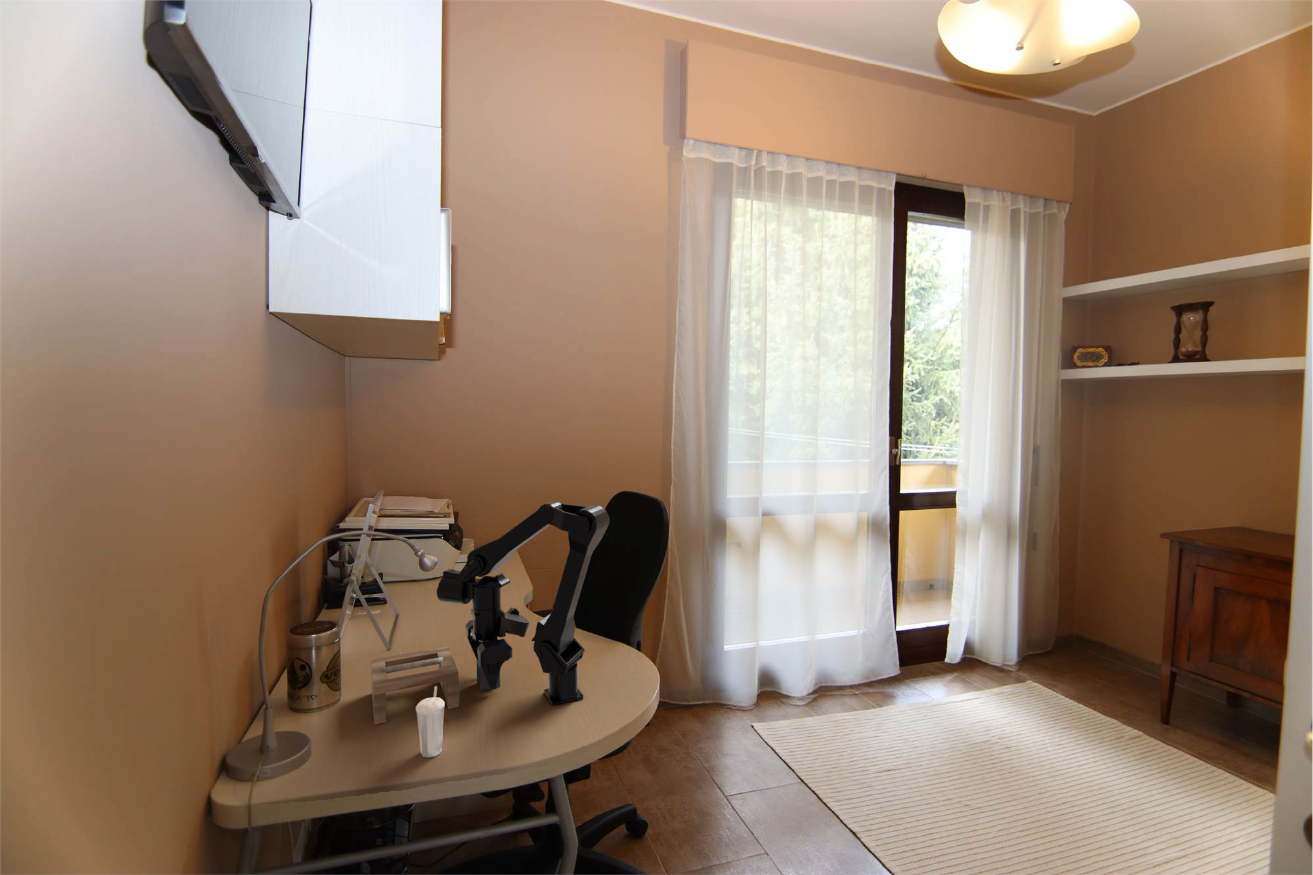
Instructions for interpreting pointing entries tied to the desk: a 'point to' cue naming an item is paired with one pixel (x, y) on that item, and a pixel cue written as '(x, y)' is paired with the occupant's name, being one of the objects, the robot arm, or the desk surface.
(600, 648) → the desk surface
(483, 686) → the grey slotted box
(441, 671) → the shelf
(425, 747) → the milkshake
